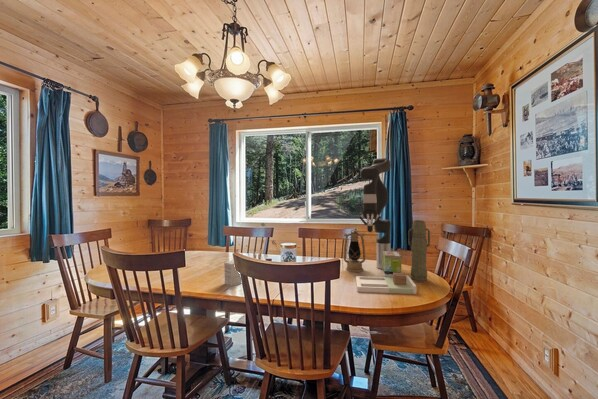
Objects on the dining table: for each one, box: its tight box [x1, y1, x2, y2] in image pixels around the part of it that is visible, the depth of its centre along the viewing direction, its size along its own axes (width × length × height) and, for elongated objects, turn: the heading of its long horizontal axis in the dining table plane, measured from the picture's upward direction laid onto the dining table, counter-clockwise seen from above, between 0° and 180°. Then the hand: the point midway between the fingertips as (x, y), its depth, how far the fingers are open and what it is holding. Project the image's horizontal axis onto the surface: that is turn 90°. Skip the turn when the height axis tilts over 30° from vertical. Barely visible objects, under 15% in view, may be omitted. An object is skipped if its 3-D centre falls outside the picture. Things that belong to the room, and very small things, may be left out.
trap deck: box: [355, 275, 418, 295], centre depth 162 cm, size 20×30×4 cm
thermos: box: [407, 219, 431, 283], centre depth 175 cm, size 9×12×35 cm
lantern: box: [343, 225, 366, 273], centre depth 200 cm, size 14×12×30 cm
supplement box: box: [223, 260, 242, 287], centre depth 170 cm, size 7×7×13 cm
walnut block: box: [393, 272, 407, 285], centre depth 160 cm, size 6×6×5 cm
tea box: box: [382, 250, 403, 278], centre depth 182 cm, size 15×10×15 cm, turn 168°
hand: (369, 232), depth 171 cm, fingers closed
